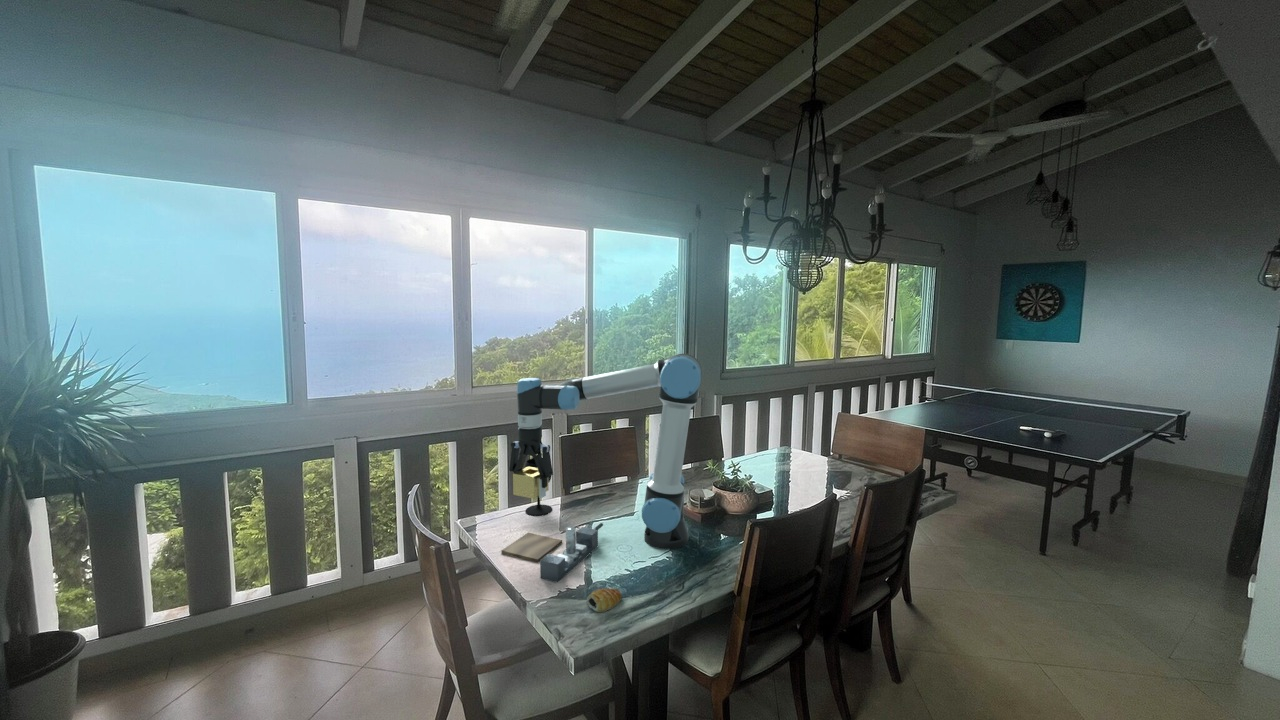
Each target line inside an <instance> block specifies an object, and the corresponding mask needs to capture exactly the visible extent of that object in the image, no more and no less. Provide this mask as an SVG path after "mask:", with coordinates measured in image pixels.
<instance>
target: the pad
mask: <svg viewBox="0 0 1280 720" xmlns="http://www.w3.org/2000/svg"><path fill="white" fill-rule="evenodd" d="M561 544H563V539H559V538H554V537H549V536H546V535H541V534H537V533H532V532H527V533H525V534H524V535H522V536H521V537H519V538H518V539H516V540H514V541H513V542H511V543H510V544H508V546H506V547H504V548H503V549H501V550H500V551H501V555H502V554H503V555H507V556H510V557H515V558H518V559H522V560H526V561H529V562H535V563H540V560H541V559H542V558H543V557H545V556H546V555H547V554H551V552H553V551H554V550H555V549H556V548H558V547H559V546H561Z"/></svg>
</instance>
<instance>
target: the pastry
mask: <svg viewBox="0 0 1280 720" xmlns="http://www.w3.org/2000/svg"><path fill="white" fill-rule="evenodd" d="M621 600H622V593H621V592H620V590H619V589H618V588H598V589H596V590H593V591H591V593H589V594H588V596H587V597H586V603H587V606H588V607H589V609H592V610H593V611H594V612H597V613H603V612H604V613H605V612H606V611H608V610H611V609H613V608H614V607H616V605H618V604H620V602H621Z"/></svg>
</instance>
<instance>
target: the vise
mask: <svg viewBox="0 0 1280 720" xmlns="http://www.w3.org/2000/svg"><path fill="white" fill-rule="evenodd" d="M603 526H604V523H603V522H600V523H599V524H598V525H597V526H595V527H594V528H590V527H585V526H581V527H580V528H579V529H578V530H576V527H574V526H567V527H565V549H563V551H562V553H559V554H557V555H554V554H551V553H549V554H547V555H546V556H545V557H543V558H542V559H541V560H540V561H539V563H540V564H539V569H540V571H539V572H540V575H539V576H540V578H539V579H544V580H547V581H550V582H554V583H559V582H560V581H561V580H562V579H564V578H565V577H566V576H567V575H568V574H569V573H571V572H572V571H573V570H574V569H575V568H576V566H578V565H579V564H580V563H581V562H582V561H584V560H585V558H587V557H588V556H589V555H590V554H591V553H592V552H593V551H594V550H595V549H597V546H598V547H599V530H600V529H601V528H602V527H603ZM589 553H590V554H589ZM588 554H589V555H588ZM587 555H588V556H587ZM586 556H587V557H586Z"/></svg>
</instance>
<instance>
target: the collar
mask: <svg viewBox="0 0 1280 720" xmlns="http://www.w3.org/2000/svg"><path fill="white" fill-rule="evenodd" d="M539 478H541V476H540V474H539V471H538V468H535V467H529V466H528V467H526V468H525V467H524V468H522V470H520V471H517V472H515V473H514V472H513V473H512V489H513V490H512V491H513V492H512V494H513V495H514V496H518V497H522V498H528V499H537V497H538V496H539ZM547 480H548V478H547ZM547 484H548V486H547V487H546V492H548V491H549V489H550V488H549V486H550V485H549V484H550V483H547Z"/></svg>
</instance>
